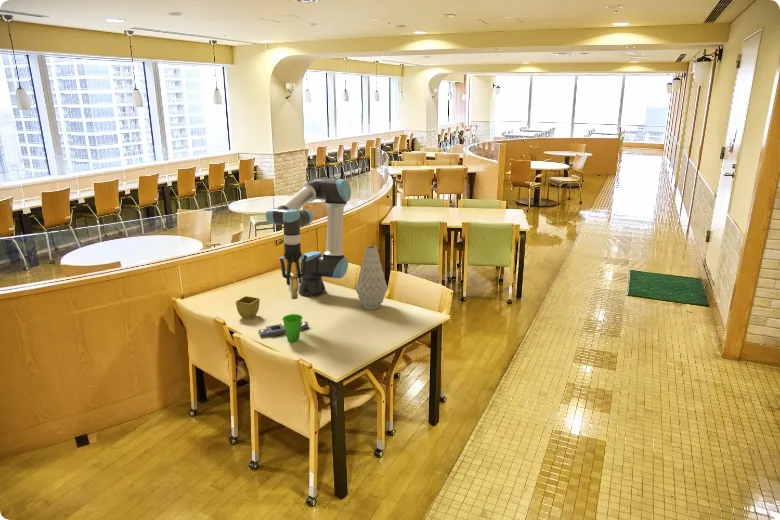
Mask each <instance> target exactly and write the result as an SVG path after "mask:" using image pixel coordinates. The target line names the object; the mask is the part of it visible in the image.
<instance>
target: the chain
mask: <svg viewBox="0 0 780 520" xmlns="http://www.w3.org/2000/svg"><path fill="white" fill-rule="evenodd" d="M265 327H266V328H262V329H258V331H257V332H258V335H259V337H260V338H267V337H270V338H272V337H276V336H277V337H278V336H282V335H286V331H285V326H284V324H283V325H282V323H280V324H272V325H268V326H267V325H266V326H265ZM303 330H309V322H308V321H301V329H300V331H303Z"/></svg>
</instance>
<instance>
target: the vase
mask: <svg viewBox="0 0 780 520" xmlns="http://www.w3.org/2000/svg"><path fill="white" fill-rule="evenodd" d="M362 257H363V258H362V262H361V266H360V269H359V274H358V278H357V282H356V285H355V291H356V293H357V295H358V296H357V297H358V300H359V302H360V303H361V305H362V307H363V309H365V310H369V311H370V310H378V309H379V308H380V307H381V306H382V303H383V301H384V299H385V295H386V293H387V291H388V285H387V282H386V279H385V273H384V271H383V267H382V263H381V260H380V255H379V251H378V248H377V246H376V245H368V246H367V245H366V246H365V249H364V253H363V256H362Z"/></svg>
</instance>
